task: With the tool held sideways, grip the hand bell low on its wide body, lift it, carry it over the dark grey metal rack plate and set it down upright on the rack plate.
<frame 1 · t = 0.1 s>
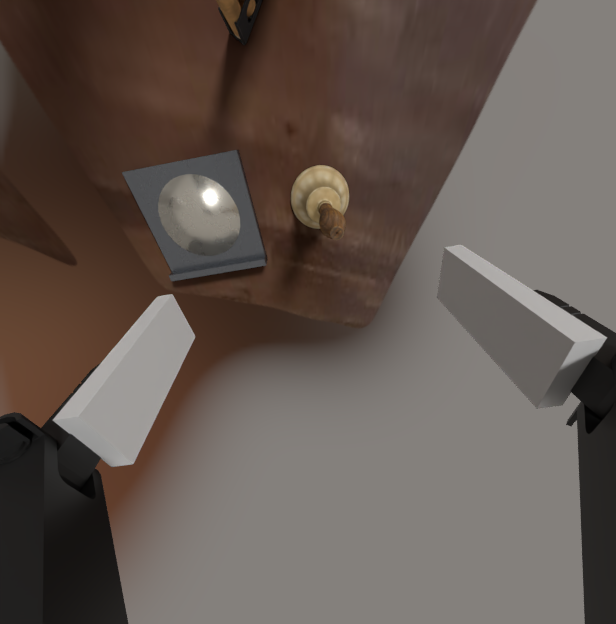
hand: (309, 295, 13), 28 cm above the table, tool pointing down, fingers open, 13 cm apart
rack plate: (204, 219, 37), on the table
hand bell: (319, 198, 36), on the table
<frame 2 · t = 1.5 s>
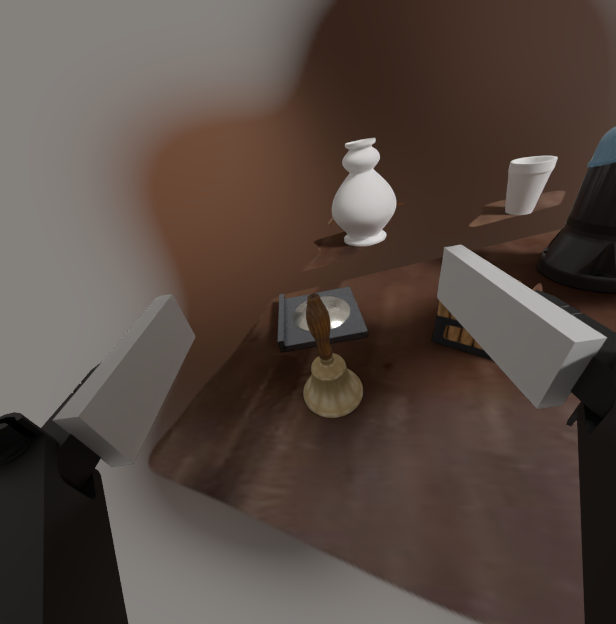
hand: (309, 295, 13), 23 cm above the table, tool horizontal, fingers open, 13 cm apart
decorative vase: (364, 238, 78), on the table
rack plate: (319, 318, 49), on the table
foam cup: (518, 212, 74), on the table
hand bell: (333, 391, 36), on the table
ammunition clip: (472, 350, 37), on the table
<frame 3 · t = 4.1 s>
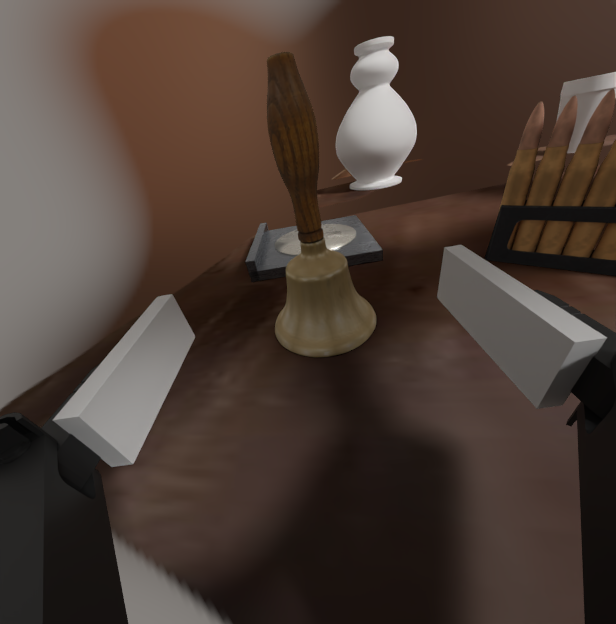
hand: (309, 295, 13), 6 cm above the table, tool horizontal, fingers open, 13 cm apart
decorative vase: (375, 185, 64), on the table
rack plate: (312, 247, 35), on the table
foam cup: (568, 152, 59), on the table
hand bell: (324, 323, 21), on the table
ammunition clip: (556, 266, 23), on the table
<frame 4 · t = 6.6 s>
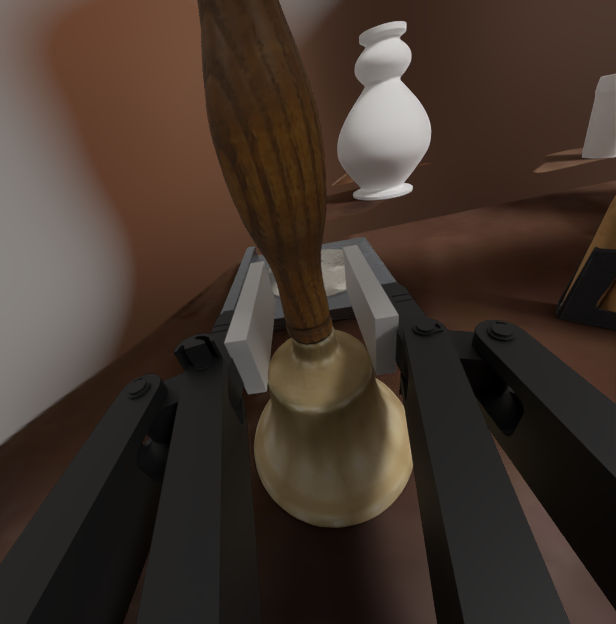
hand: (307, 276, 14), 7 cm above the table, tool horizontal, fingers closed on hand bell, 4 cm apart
decorative vase: (381, 193, 57), on the table
rack plate: (311, 282, 28), on the table
foam cup: (602, 156, 52), on the table
hand bell: (331, 432, 14), on the table, touching gripper
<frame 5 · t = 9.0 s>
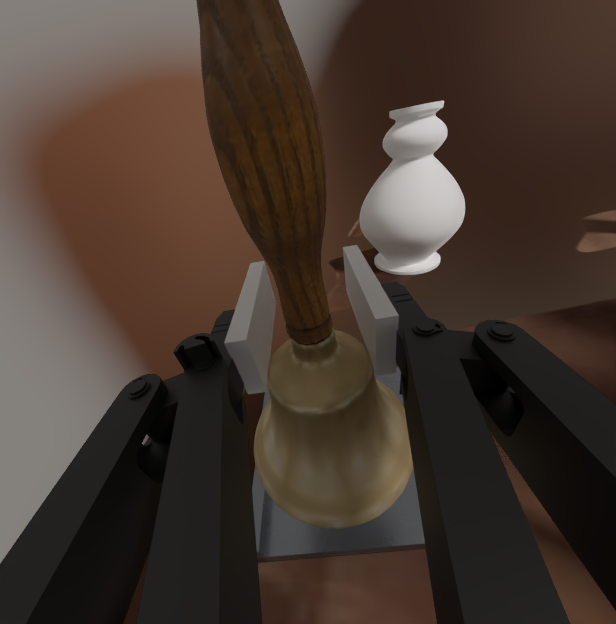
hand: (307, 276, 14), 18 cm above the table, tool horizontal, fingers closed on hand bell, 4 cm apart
decorative vase: (405, 261, 52), on the table
rack plate: (344, 445, 24), on the table
hand bell: (331, 433, 14), point 11 cm above the table, touching gripper
when the fingers open (9 cm above the table, at t = 11.8 s): hand bell drops 1 cm, resting on rack plate.
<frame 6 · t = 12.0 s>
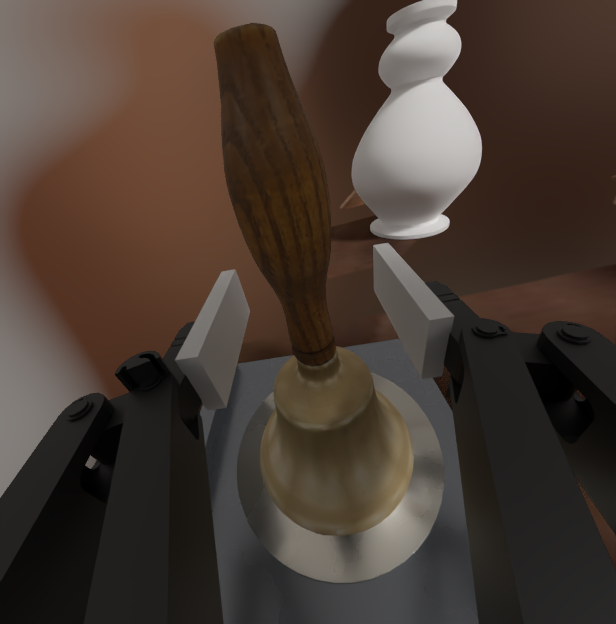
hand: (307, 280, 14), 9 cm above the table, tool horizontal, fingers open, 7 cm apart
decorative vase: (407, 227, 44), on the table
rack plate: (327, 454, 15), on the table
hand bell: (333, 442, 14), point 1 cm above the table, touching rack plate
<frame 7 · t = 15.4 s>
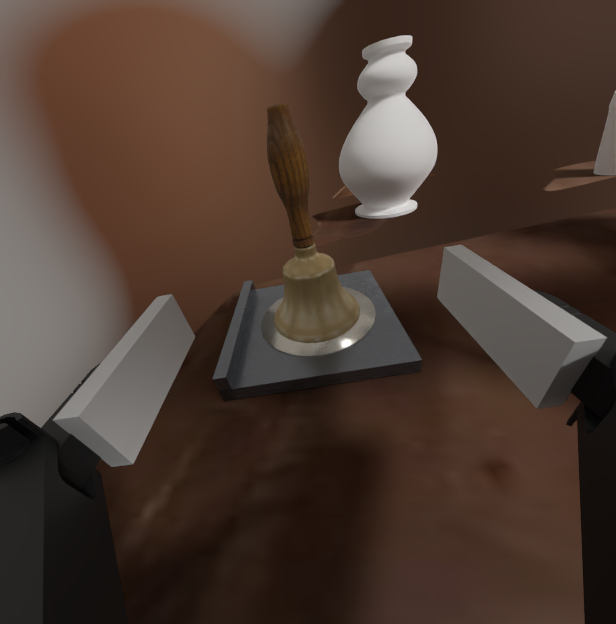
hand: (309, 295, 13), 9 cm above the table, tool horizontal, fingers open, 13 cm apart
decorative vase: (385, 210, 54), on the table
rack plate: (313, 325, 25), on the table
foam cup: (615, 172, 50), on the table
hand bell: (316, 315, 25), point 1 cm above the table, touching rack plate
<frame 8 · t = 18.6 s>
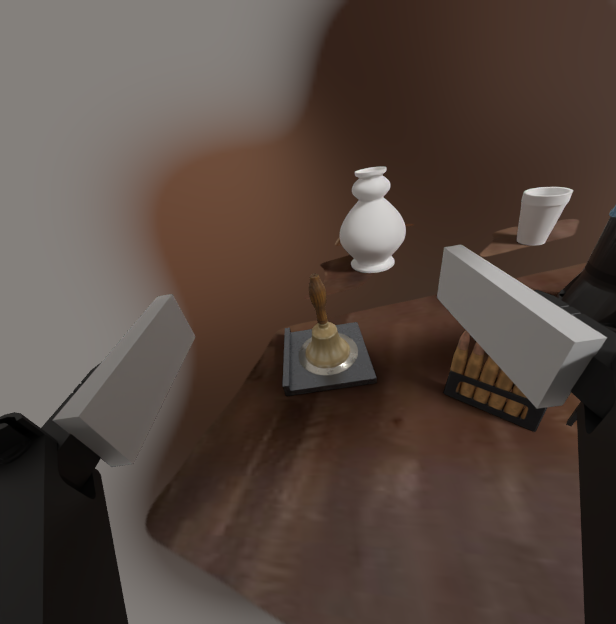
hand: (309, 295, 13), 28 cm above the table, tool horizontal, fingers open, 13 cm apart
decorative vase: (372, 263, 77), on the table
rack plate: (325, 357, 48), on the table
foam cup: (530, 241, 72), on the table
hand bell: (327, 352, 47), point 1 cm above the table, touching rack plate
ammunition clip: (486, 407, 36), on the table
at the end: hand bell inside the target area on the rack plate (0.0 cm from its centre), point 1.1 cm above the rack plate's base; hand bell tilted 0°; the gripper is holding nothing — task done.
